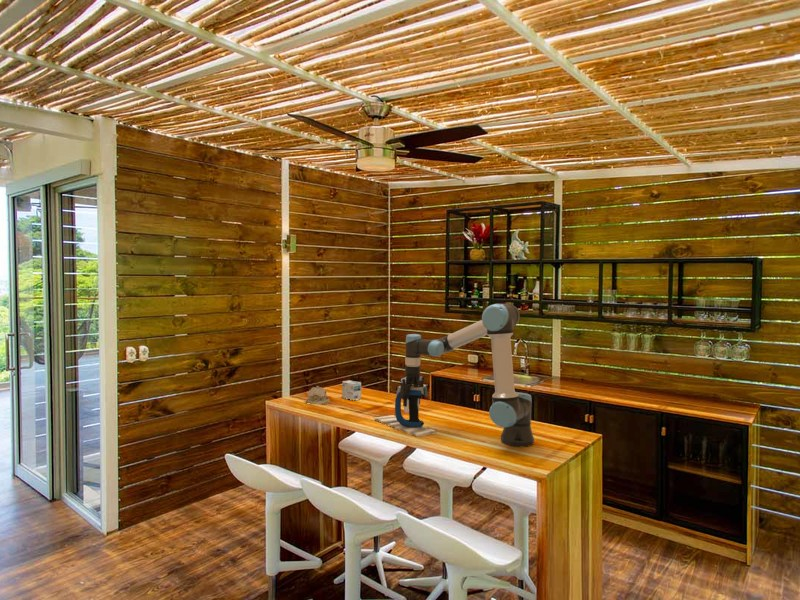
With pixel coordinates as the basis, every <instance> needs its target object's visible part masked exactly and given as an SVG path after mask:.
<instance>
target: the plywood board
mask: <svg viewBox="0 0 800 600" xmlns="http://www.w3.org/2000/svg"><path fill="white" fill-rule="evenodd" d="M373 420H374V421H375V420H376V422H378V421H379V422H378V423H380V422H381V423H380V424H383V423H384V424H383V425H385V424H386V426H388V425H389V427H390V426H391V428H393V427H394V428H393V429H395V428H396V430H397V431H398V430H399V431H400V430H401V432H403V433H405V432H406V433H405V434H409V435H411V436H413V437H415V436H416V437H415V438H419V437H424V436H428V435H429V436H430V435H434V433H435V434H437V430H435V429H432V428H430V427H428V426H424V425H423V426H422V427H408V426H403V425H401V424H400V423H399V422H398V421H397V419H396V416H395V415H394V414H391V415H385V416H384V415H383V416H377V417H374V419H373Z"/></svg>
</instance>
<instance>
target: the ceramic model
mask: <svg viewBox="0 0 800 600" xmlns="http://www.w3.org/2000/svg"><path fill="white" fill-rule="evenodd" d="M307 397H308V398H307V399H306V404H307V403H310V404H309V405H311V404H325V405H328V404H329V403H330V398H327V390H326V389H325V388H324V387H320V386H319V385H316V387H314V386H312V387H311V389H310V390H309V391H308V392H307ZM327 403H328V404H327Z"/></svg>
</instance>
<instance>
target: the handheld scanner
mask: <svg viewBox="0 0 800 600" xmlns="http://www.w3.org/2000/svg"><path fill="white" fill-rule="evenodd" d="M400 388H401V385H399V386H395V389H394V391H395V396H396V397H395V399H394V400H395V402H394V414H395V415H394V416H396V419H397V421H398V422H399V423H400V424H401V425H403V426H408V427H422V426H424V424H425V422H424V420H420V418H419V416H420V415H419V414H420V413H419V412H418V405H417V400H418V397H419V396H421V395H422V394H423V395H424V396H423V397H424V398H426V397H427V396H428V387H427V386H424V387H414V386H411V388H410V392H409V395H408V399H407V400H409V413H408V415H409V416H408V417H409V419H407V418H405V417H404V416H403V414H402V399H401V398H400Z"/></svg>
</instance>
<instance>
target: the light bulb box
mask: <svg viewBox="0 0 800 600" xmlns="http://www.w3.org/2000/svg"><path fill="white" fill-rule="evenodd" d="M341 386H342V387H341V398H342V397H343V398H347V399H351V400H356V399H360V398H361V399H362V382H361V381H354V380H343V381H342V383H341ZM343 398H342V399H343ZM347 399H346V400H347ZM351 400H350V401H351ZM356 401H357V400H356Z"/></svg>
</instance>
